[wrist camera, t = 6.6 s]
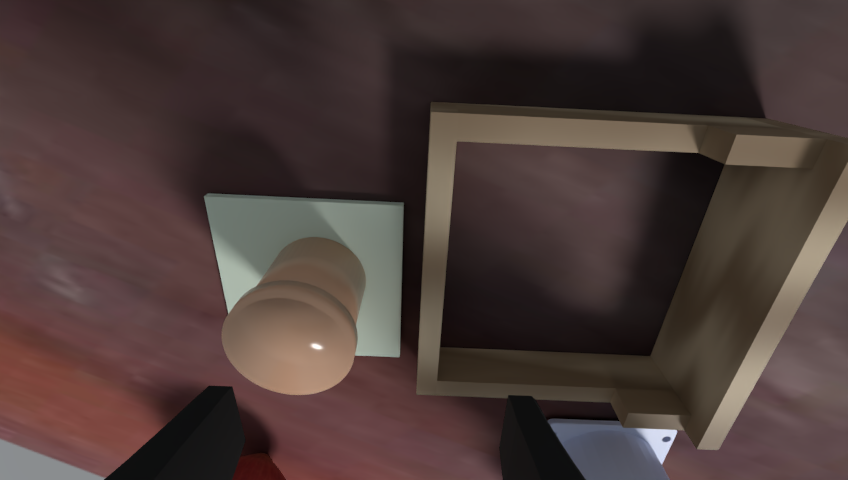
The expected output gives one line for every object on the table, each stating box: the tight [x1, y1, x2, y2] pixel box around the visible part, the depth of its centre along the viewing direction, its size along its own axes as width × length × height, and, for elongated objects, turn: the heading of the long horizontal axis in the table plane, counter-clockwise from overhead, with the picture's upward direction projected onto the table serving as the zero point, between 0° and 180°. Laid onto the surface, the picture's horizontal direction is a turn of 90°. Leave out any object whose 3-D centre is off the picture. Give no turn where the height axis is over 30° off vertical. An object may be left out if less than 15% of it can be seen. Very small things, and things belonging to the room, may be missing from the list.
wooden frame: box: [416, 102, 848, 450], centre depth 18 cm, size 14×14×5 cm
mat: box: [204, 193, 404, 357], centre depth 21 cm, size 9×9×1 cm
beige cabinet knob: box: [222, 237, 366, 395], centre depth 18 cm, size 5×5×5 cm
